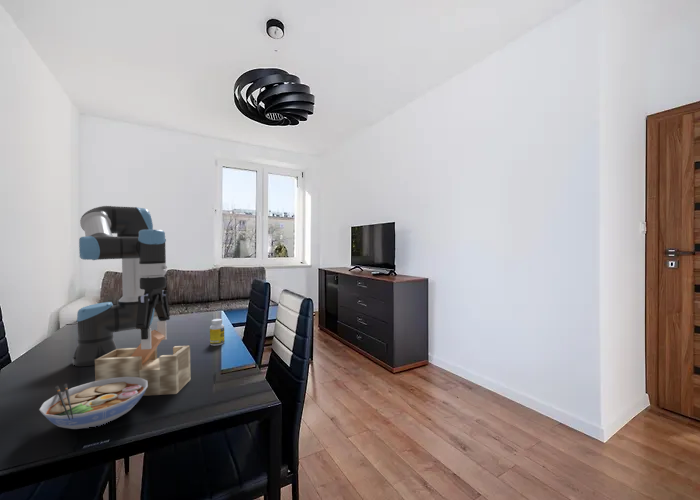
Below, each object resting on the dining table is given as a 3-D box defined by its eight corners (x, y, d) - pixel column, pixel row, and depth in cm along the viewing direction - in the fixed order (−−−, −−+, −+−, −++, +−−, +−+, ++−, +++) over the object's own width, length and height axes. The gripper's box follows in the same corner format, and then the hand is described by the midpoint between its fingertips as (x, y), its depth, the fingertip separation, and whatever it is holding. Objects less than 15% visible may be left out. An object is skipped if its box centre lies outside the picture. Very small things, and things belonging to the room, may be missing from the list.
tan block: (121, 390, 103) (110, 383, 103) (128, 385, 107) (118, 378, 107) (159, 339, 104) (148, 332, 104) (164, 336, 108) (154, 329, 108)
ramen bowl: (159, 421, 85) (159, 391, 85) (40, 463, 69) (39, 425, 69) (138, 392, 103) (137, 366, 103) (39, 420, 87) (38, 390, 87)
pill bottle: (219, 346, 150) (218, 321, 150) (207, 345, 151) (206, 321, 151) (227, 342, 156) (226, 318, 156) (215, 341, 157) (215, 318, 157)
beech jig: (95, 398, 99) (94, 359, 99) (118, 383, 110) (117, 348, 110) (176, 393, 101) (175, 356, 101) (190, 379, 112) (189, 345, 112)
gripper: (146, 279, 95) (148, 354, 95) (179, 273, 117) (181, 334, 117) (120, 280, 94) (122, 355, 94) (158, 273, 116) (159, 335, 116)
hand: (154, 344), depth 106 cm, fingers open, 9 cm apart
